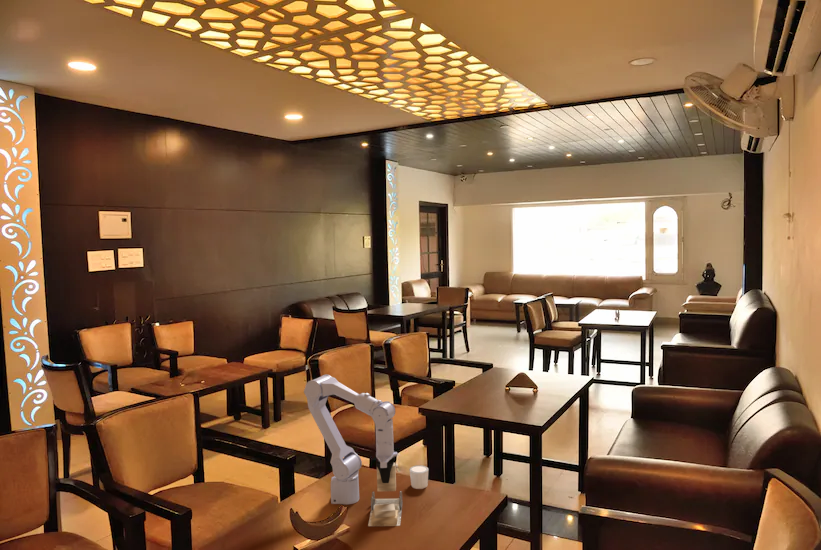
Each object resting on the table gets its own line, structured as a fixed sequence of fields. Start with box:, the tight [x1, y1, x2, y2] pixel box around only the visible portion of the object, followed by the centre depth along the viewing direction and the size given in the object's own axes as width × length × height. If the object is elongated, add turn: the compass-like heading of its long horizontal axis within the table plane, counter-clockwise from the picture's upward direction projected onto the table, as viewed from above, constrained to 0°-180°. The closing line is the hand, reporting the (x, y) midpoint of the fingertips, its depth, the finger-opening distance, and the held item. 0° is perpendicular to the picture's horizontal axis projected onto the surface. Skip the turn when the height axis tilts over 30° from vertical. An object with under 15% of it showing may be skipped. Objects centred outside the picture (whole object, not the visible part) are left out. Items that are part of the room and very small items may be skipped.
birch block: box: [376, 462, 397, 492], centre depth 182 cm, size 6×3×8 cm, turn 88°
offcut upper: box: [374, 504, 396, 518], centre depth 174 cm, size 6×4×2 cm
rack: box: [367, 490, 403, 527], centre depth 178 cm, size 10×16×5 cm, turn 178°
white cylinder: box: [409, 465, 429, 490], centre depth 198 cm, size 7×7×7 cm
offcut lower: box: [371, 510, 398, 524], centre depth 174 cm, size 8×5×2 cm, turn 88°
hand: (386, 480), depth 182 cm, fingers closed on birch block, 3 cm apart
